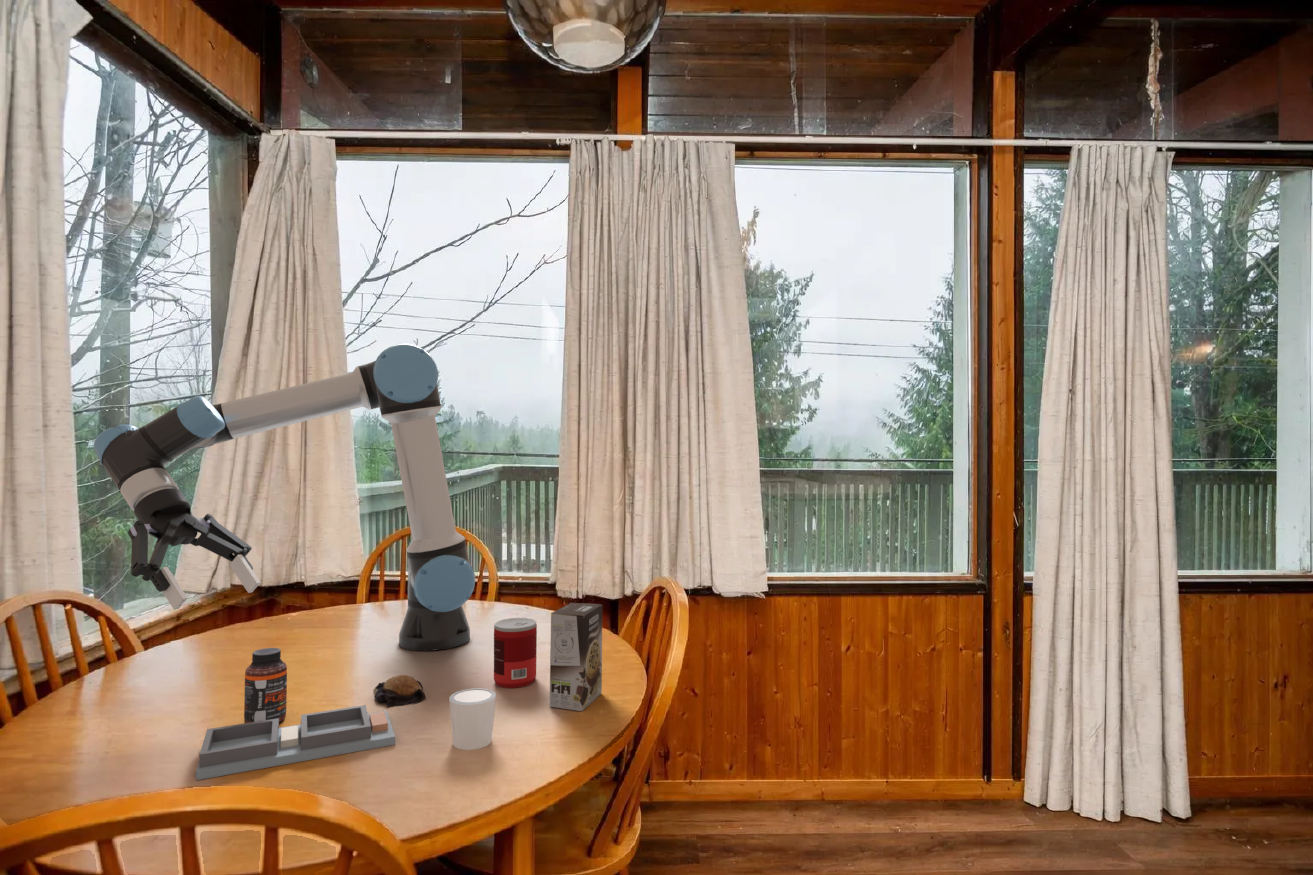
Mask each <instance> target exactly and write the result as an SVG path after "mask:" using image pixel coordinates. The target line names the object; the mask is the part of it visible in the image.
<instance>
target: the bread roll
mask: <svg viewBox="0 0 1313 875" xmlns="http://www.w3.org/2000/svg"><path fill="white" fill-rule="evenodd" d="M423 688H424V687H423V684H422V682H421V681H419V680H417V679H415V678H414V677H413V676H410V675H407V674H401V675H395V676H392V677H389V678H388V679H387V680H386V681H383V682H379V683H378V684H377V685H376V686H375V687H374V688H373V689H372V690H373V695H374V699H375V701H376V702H377V703H378V704H379V705H381V706H385V707H386V708H388V709H389V708H394V707H400V706H409V705H416V704H418V703H422V702H423V701H426V700H427V698H426V694H425V692H424V691H423V690H424V689H423Z"/></svg>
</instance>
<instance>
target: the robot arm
mask: <svg viewBox="0 0 1313 875" xmlns="http://www.w3.org/2000/svg"><path fill="white" fill-rule="evenodd" d="M438 380H439V369H438V366H437V364H436V362H435V359H434V358H433V357H432V356H431V355H430V354H429V352H427V351H426V350H425V349H423V348H422V347H420V346H417V345H414V344H410V343H399V344H395V345H392V346H389V347H387V348H385V349H384V350H382V352H380V353H379V355H378V356H377V358H376V359H375V360H374V361H371V362H369V363H368V362H367V363H366V364H361V365H357V366H356V367H355V368H354V369H353V371H352V372H348V373H345V374H340V375H335V376H331V377H327V378H322V379H319V380H314V381H311V382H306V383H301V384H297V385H293V386H290V387H289V386H288V387H285V388H281V389H276V390H271V391H268V392H264V393H263V392H262V393H260V394H254V395H251V396H247V397H243V398H238V399H234V400H229V401H225V402H222V403H217V404H212V403H211V402H210V401H209V400H208V399H206V398H205V397H204V396H203V395H196V396H194V397H192V398H190V399H188V400H186V401H182V402H180V403H178V405H177V406H175V407H173V408H171V409H170V410H168V411H167V412H165V413H163V414H162V415H161V416H158V417H157V418H155V419H153V420H152V421H150V422H148V423H147V424H145V425H143V426H141V427H137V426H134V425H133V424H126V423H125V424H119V425H117V426H116V427H108V428H106V429H105V430H103V431H102V432H101V433H99V434H98V435H97V436H96V438H95V439H94V441H93V450H94V452H95V454H96V456H97V458H98V460H99V462H100V465H101V466H102V468H103V469H104V470H105V471H106V473H107V474H108V476H109V477H110V479H111V480H112V481H113V483H114V485H115V486H116V487H117V489H118V491H119V492H120V494H121V495H122V497H123V498H124V500H125V501H126V503H127V505H128V506H129V507H130V509H131V510H132V511H133V514H134V515H135V518H136V521H135V522H134V523H133V524H132V525H131V527H130V528H129V530H128V531H127V534H128V536H129V537H130V540H131V560H130V561H131V563H130V574H131V576H133V577H135V578H136V577H139V576H141V579H142V581H144V582H149V581H151V583H152V584H153V586H154V588H155V589H156V590H157V591H158V592H159V593H160V592H161V593H162V594H163V595H164V597H165V598H166V600H167V601H168V604H170V607H171V608H172V609H173V610H174V611H176V610H179V609H180V608H181V607H182V606H183V605H184V603H185V602H186V601H187V600H188V596H187V595H186V593H185V592H184V590H183V588H182V587H181V585H180V583H179V582H178V580H177V579H176V578H175V576H174V574H173V573H172V571H171V570H170V568H169V567H168V566H164V567H162V565H163V562H164V558H165V556H166V553H167V551H168V548H169V545H170V546H171V547H176V546H179V545H184V546H185V545H189V544H190V545H192V546H195V547H202V548H203V549H205V550H208V551H209V552H211V553H213V554H214V555H215V554H216V555H217V556H220V557H221V558H223V559H225V560H227V561H230V563H229V567H230V568H231V569H232V571H233V573H234V574H235V575H236V577H237V579H238V581H240V583H241V584H242V586H243V587H244V589H245V591H247V593H248V594H250V593H253V592H254V591H255V589H257V587H258V586H259V585H260V584H261V581H260V579H259V578H258V576H257V575H256V573H255V572H254V571H253V570H254V567H253V565H252V563H250V561H249V560H248V558H247V555H248V554H249V553H250V551H252V548H253V547H252V546H251V545H249V544H248V543H247V542H246V541H244V540H243V539H241V538H240V537H238V536H237V535H236V534H235V533H233V532H232V531H230V530H229V529H228V528H226V527H225V526H223V525H222V524H220V523H219V521H217V520H216V519H215V518H214V516H213V515H212V514H210V513H206V514H205V515H204V516H203V517H201V518H197V517H196V516H194V515H193V514H192V509H191V504H190V503H189V501H188V499H187V498H186V496H185V495H184V494H183V492H182V491H181V490H180V488H179V486H178V485H177V483H176V482H175V480H174V479H173V477H172V476H171V475H170V473H169V472H168V470H167V469H166V467H165V465H166V464H169V463H170V462H172V461H174V460H175V459H177V458H178V457H180V456H182V455H183V454H186V453H187V452H189V451H190V450H192V449H194V448H196V449H197V448H198V449H203V448H207V447H212V446H214V445H215V444H220V443H224V442H228V441H231V440H235V439H239V438H242V437H243V438H244V437H247V436H251V435H254V434H255V435H256V434H259V433H263V432H267V431H270V430H274V429H275V430H276V429H279V428H283V427H287V426H290V425H295V424H299V423H303V422H307V421H310V420H315V419H319V418H323V417H327V416H331V415H334V414H338V413H343V412H347V411H351V410H355V409H359V408H362V407H363V408H365V409H368V410H374V409H378V408H379V412H380V415H381V417H382V418H383V419H384V420H386V422H387V421H388V422H389V424H390V426H391V431H392V435H393V436H392V437H393V441H394V447H395V453H396V457H397V458H396V459H397V464H398V468H399V474H400V480H401V485H402V489H403V491H402V492H403V495H404V500H405V506H406V510H407V511H406V512H407V516H408V523H409V528H410V533H411V538H412V540H411V541H410V542H409V543H408V546H407V547H406V555H407V610H406V613H405V615H404V619H403V620H402V625H401V627H400V630H399V632H398V633H399V634H398V645H399V646H400V647H401V648H403V649H406V650H410V651H411V650H412V651H427V652H428V651H439V650H448V649H452V648H457V647H459V646H462V645H465V644H466V643H468V642H469V641H470V639H471V629H470V626H469V622H468V619H467V616H466V612H465V610H464V607H463V605H464V604H466V602H467V601H468V600H469V599H470V598H471V597H472V594H473V591H474V589H475V584H476V575H475V571H474V570H473V566H472V565H471V564H470V558H469V554H468V548H467V543H466V538H465V536H464V535H462V534H461V533H459V532H458V531H457V530H456V525H455V519H454V515H453V508H452V504H451V496H450V492H449V487H448V480H447V475H446V469H445V464H444V458H443V453H442V448H441V443H440V437H439V431H438V424H437V421H436V415H437V414H438V413H439V411H440V410H441V409H442V404H441V398H440V392H439V388H438ZM198 533H200V534H199V536H198V537H197V535H198ZM149 535H150V536H152V537H154V538H155V539H156V542H155V544H154V546H153V551H152V554H151V557H150V559H149V558H148V557H149ZM148 559H149V560H148ZM161 567H162V568H161Z"/></svg>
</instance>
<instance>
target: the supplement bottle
mask: <svg viewBox="0 0 1313 875" xmlns="http://www.w3.org/2000/svg"><path fill="white" fill-rule="evenodd" d="M281 653H282V652H281V649H280V648H277V647H266V648H264V647H263V648H260V649H259V648H258V649H256V650H255V651H252V653H251V654H252V655H251V664H249V665H247V667H246V668H245V672H244V703H243V704H244V706H243V707H244V709H243V712H244V714H243V721H244V723H250V722H257V721H263V720H270V719H277V718H279V723H280V722H282V721H284V720H285V719H286V717H287V703H288V702H287V700H288V698H287V697H288V696H287V694H288V693H287V692H288V691H287V689H288V688H287V687H288V666H287V664H286V662H285V661H283V660H282V659H281V656H282V655H281ZM244 723H243V724H244Z"/></svg>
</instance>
